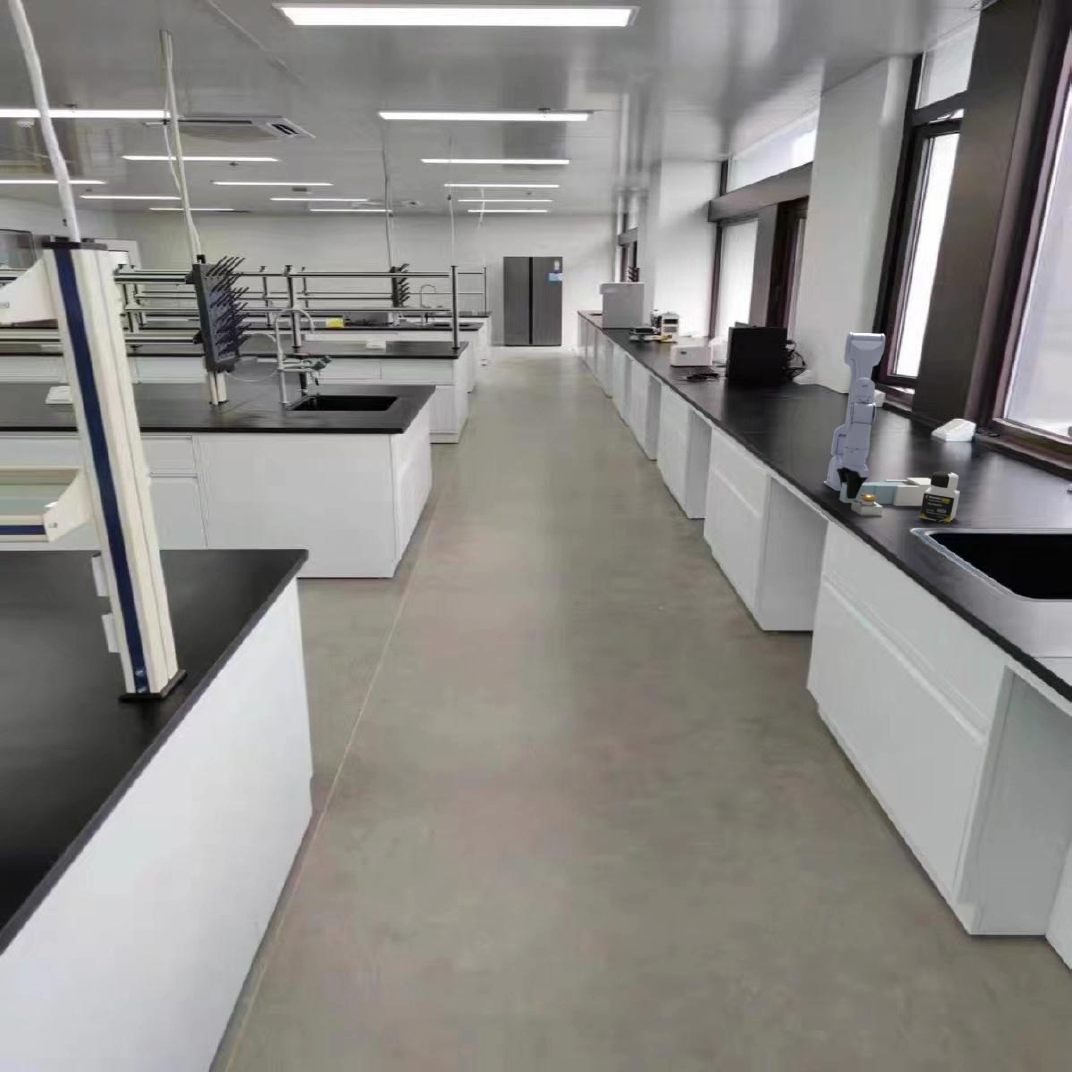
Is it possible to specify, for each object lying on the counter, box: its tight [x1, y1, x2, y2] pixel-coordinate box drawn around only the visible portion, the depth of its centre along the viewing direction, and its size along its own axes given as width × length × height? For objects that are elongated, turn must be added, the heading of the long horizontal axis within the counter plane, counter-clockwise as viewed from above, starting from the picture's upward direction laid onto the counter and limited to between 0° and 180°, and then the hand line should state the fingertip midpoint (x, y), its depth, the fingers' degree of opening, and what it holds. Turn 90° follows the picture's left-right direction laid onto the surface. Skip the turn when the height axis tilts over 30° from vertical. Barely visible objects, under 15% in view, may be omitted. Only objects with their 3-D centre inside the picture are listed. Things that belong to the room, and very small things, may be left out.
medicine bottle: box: [919, 470, 961, 523], centre depth 196 cm, size 7×7×12 cm
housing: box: [884, 477, 931, 507], centre depth 210 cm, size 7×12×6 cm, turn 93°
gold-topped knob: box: [861, 494, 877, 506], centre depth 200 cm, size 4×4×4 cm
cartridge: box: [839, 481, 908, 505], centre depth 209 cm, size 4×17×5 cm, turn 93°
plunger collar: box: [850, 501, 884, 516], centre depth 200 cm, size 6×6×2 cm
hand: (848, 496), depth 209 cm, fingers closed on cartridge, 3 cm apart
